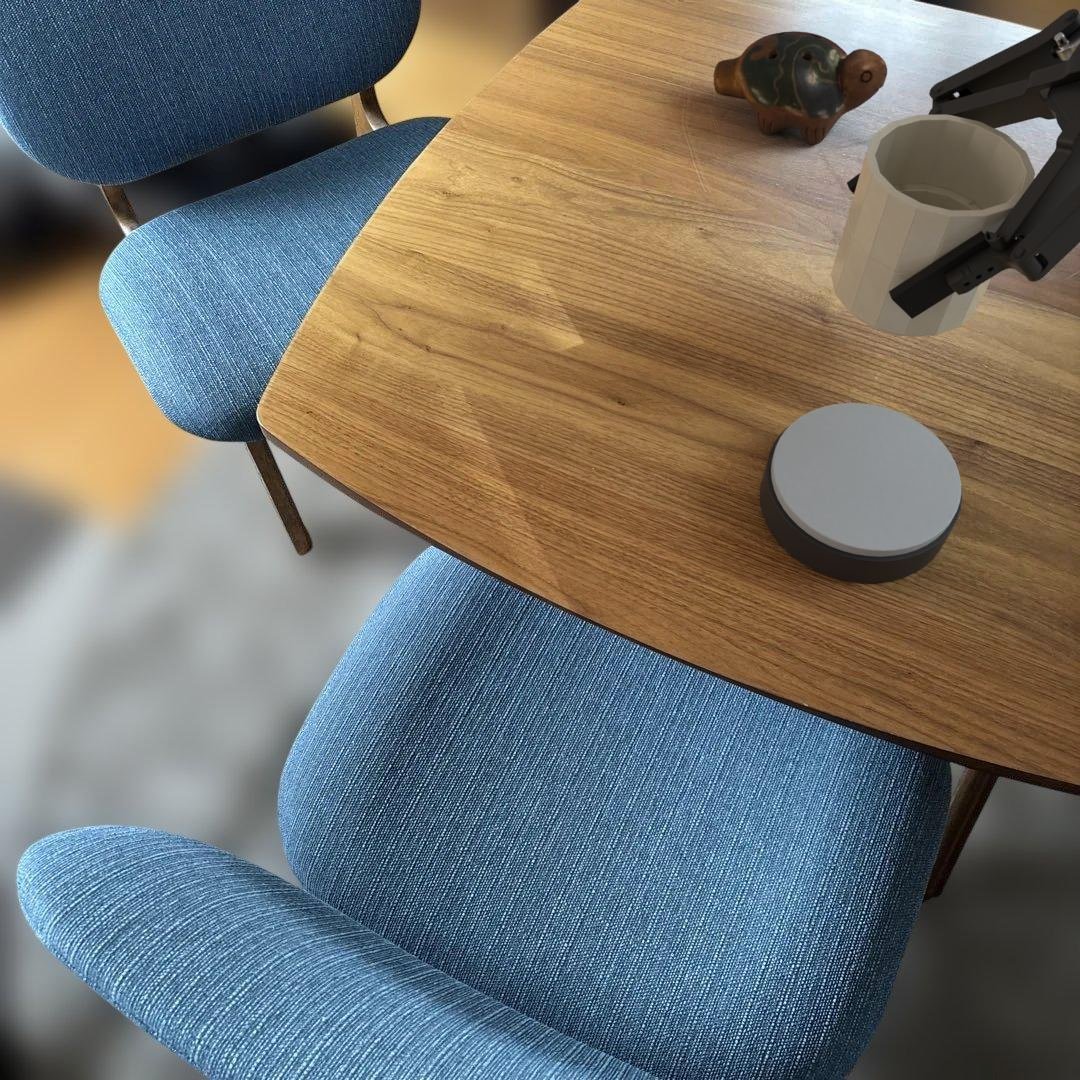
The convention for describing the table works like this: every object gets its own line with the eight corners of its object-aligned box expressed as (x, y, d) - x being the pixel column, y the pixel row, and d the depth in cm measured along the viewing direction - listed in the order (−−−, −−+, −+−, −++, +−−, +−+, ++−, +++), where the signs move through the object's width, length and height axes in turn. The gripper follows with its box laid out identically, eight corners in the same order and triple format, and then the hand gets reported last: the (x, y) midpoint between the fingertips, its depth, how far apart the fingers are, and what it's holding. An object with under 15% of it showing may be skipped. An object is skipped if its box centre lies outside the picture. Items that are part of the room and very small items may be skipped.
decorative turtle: (868, 164, 92) (886, 84, 86) (701, 147, 96) (704, 68, 89) (880, 97, 97) (898, 16, 90) (720, 82, 100) (725, 3, 94)
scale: (987, 545, 70) (1007, 514, 67) (821, 610, 67) (833, 581, 64) (881, 410, 77) (894, 377, 74) (726, 465, 74) (733, 432, 71)
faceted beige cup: (1004, 319, 74) (1069, 190, 64) (880, 361, 71) (928, 233, 62) (921, 230, 79) (969, 99, 70) (802, 267, 77) (836, 137, 68)
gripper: (1335, 179, 55) (953, 396, 67) (1157, -43, 68) (863, 174, 80) (1299, 94, 50) (896, 343, 63) (1115, -127, 63) (810, 116, 76)
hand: (878, 248), depth 71 cm, fingers closed on faceted beige cup, 11 cm apart
